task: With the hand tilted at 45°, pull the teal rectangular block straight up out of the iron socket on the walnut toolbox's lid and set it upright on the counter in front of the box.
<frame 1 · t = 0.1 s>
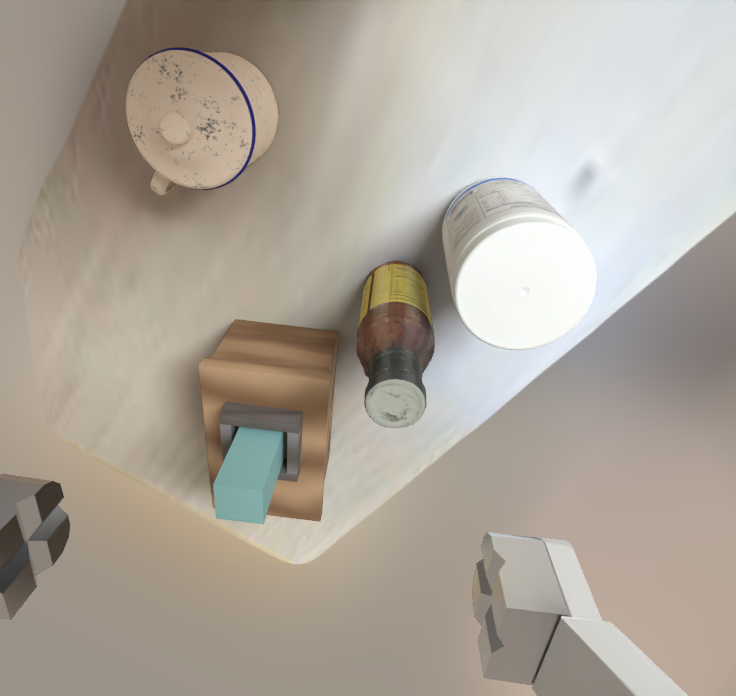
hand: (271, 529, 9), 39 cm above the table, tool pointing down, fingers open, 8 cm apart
teal rectangular block: (265, 435, 47), point 10 cm above the table, touching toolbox
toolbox: (286, 393, 57), on the table
sauce bottle: (397, 285, 49), on the table
teacup with lid: (220, 124, 42), on the table
supplement tub: (492, 225, 45), on the table
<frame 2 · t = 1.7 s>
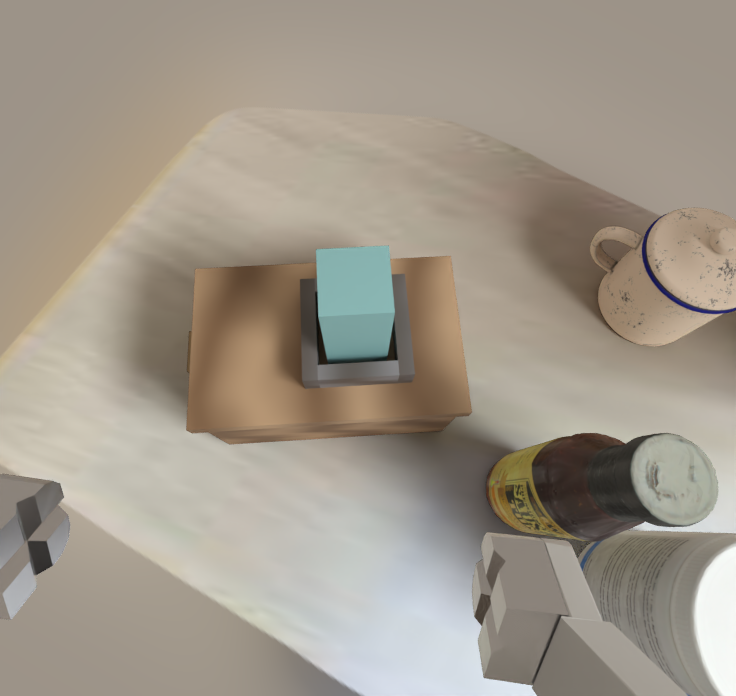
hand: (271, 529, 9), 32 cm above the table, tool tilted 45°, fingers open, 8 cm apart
teal rectangular block: (355, 335, 34), point 10 cm above the table, touching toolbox
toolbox: (334, 375, 43), on the table
sauce bottle: (521, 493, 40), on the table
teacup with lid: (626, 297, 46), on the table
supplement tub: (627, 594, 38), on the table
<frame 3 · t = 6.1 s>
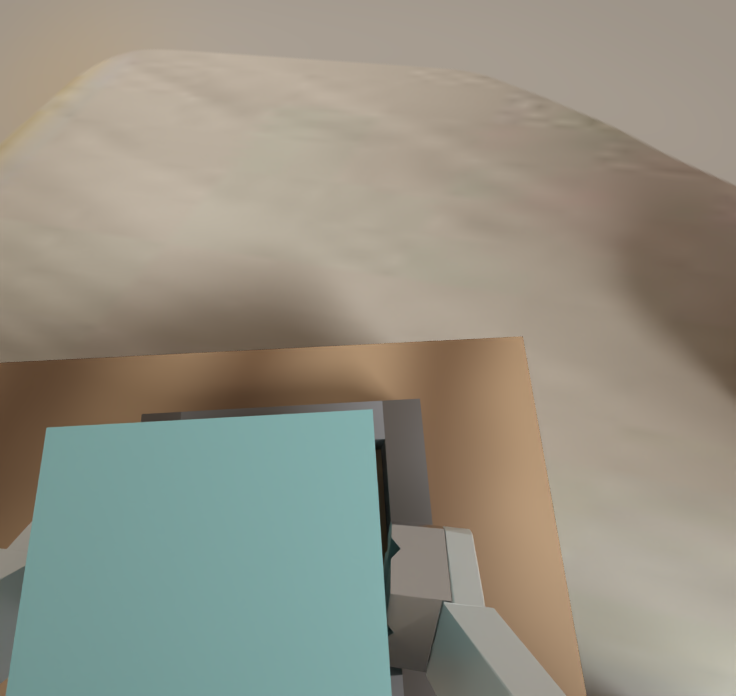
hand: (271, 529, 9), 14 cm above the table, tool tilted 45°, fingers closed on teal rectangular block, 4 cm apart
teal rectangular block: (293, 550, 13), point 10 cm above the table, touching gripper, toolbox
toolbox: (274, 541, 22), on the table
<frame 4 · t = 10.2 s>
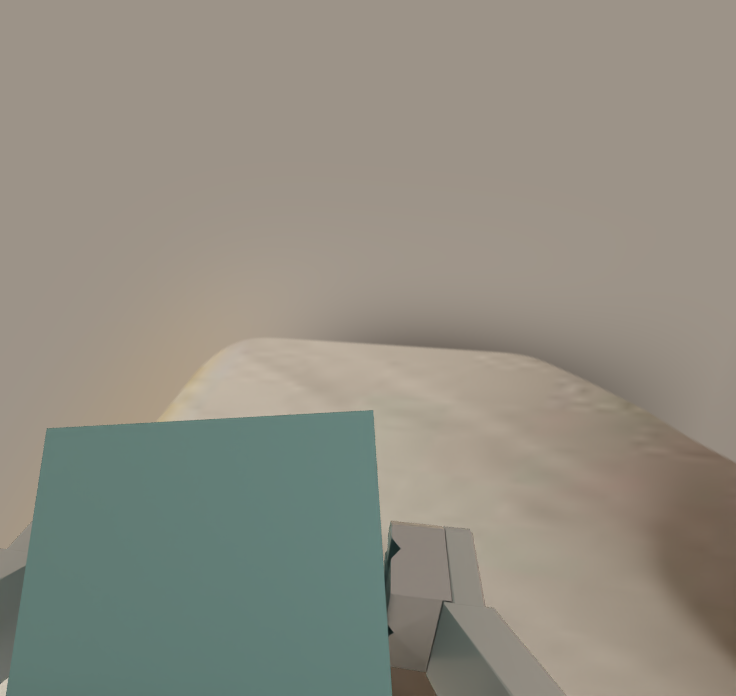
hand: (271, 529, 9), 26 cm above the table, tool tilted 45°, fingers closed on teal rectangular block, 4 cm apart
teal rectangular block: (293, 551, 13), point 22 cm above the table, touching gripper
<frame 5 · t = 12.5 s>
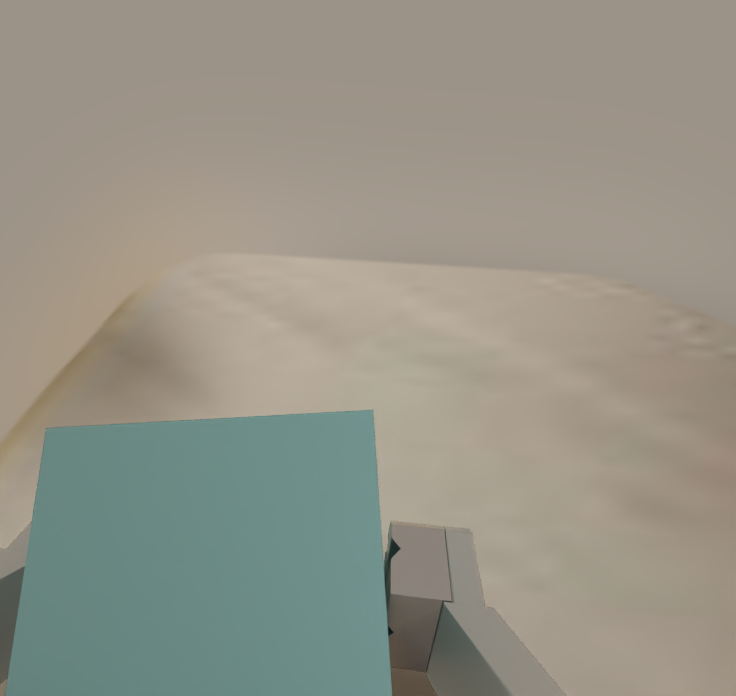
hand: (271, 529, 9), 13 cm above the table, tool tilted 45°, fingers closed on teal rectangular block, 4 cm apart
teal rectangular block: (293, 551, 13), point 9 cm above the table, touching gripper
when the fingers open (6 cm above the table, at t = 14.4 s): teal rectangular block drops 1 cm, on the table.
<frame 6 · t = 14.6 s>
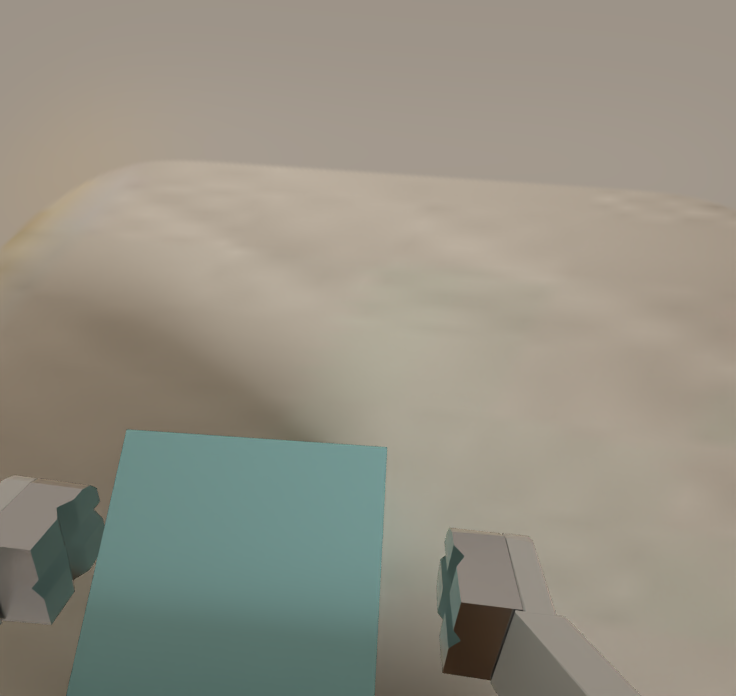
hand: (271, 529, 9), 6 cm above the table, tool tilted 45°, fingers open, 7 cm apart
teal rectangular block: (300, 547, 15), on the table
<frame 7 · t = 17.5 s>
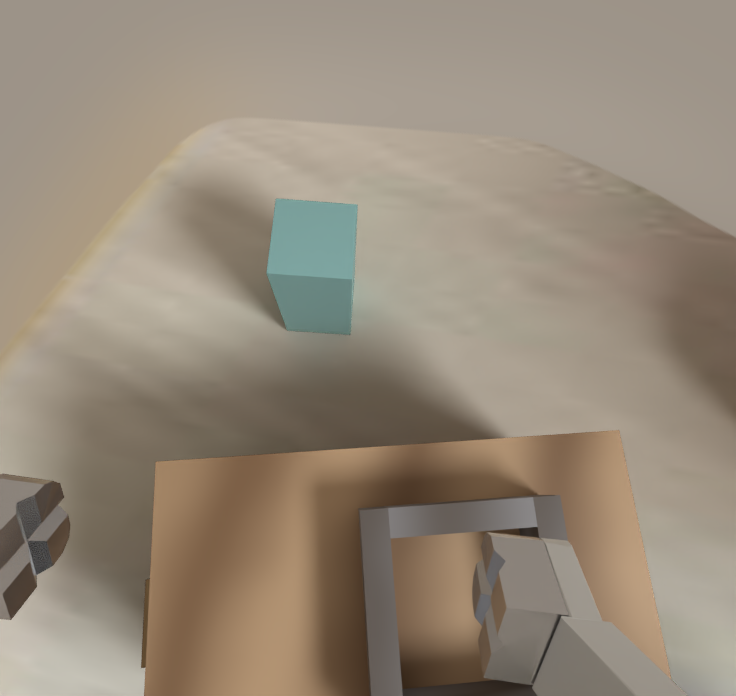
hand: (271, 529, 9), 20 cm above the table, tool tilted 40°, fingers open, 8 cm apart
teal rectangular block: (321, 303, 32), on the table
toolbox: (386, 568, 27), on the table
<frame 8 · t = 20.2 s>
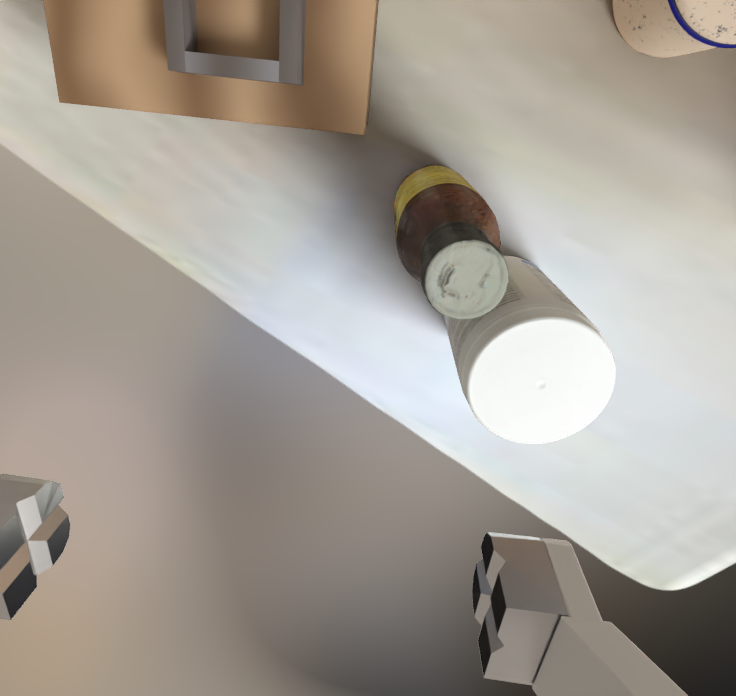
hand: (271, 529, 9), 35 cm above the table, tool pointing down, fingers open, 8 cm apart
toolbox: (253, 29, 36), on the table
sauce bottle: (433, 204, 41), on the table
supplement tub: (496, 303, 44), on the table
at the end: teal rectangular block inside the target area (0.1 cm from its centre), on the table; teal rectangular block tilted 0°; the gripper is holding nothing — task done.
